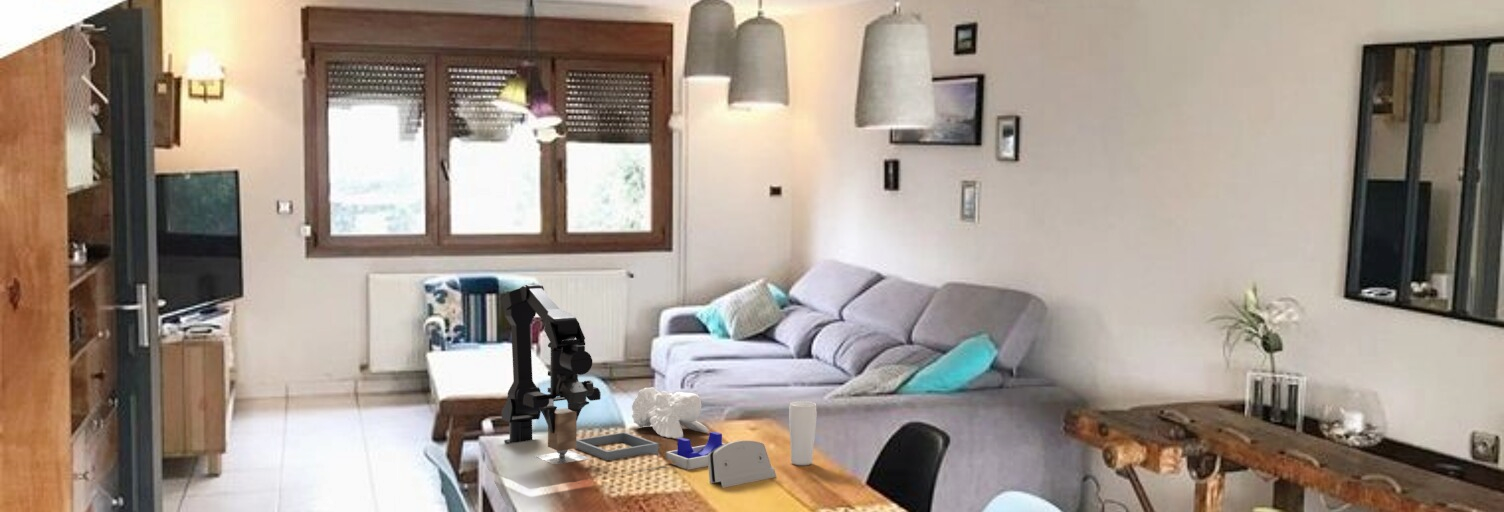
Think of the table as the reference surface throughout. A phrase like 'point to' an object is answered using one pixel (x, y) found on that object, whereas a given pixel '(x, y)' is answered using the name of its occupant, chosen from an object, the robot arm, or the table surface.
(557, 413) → the wooden block
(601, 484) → the table surface
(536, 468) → the table surface
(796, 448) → the drinking glass
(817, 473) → the table surface
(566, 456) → the stud plate
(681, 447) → the cable clip
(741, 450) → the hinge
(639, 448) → the tray
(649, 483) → the table surface
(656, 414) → the cherub figurine
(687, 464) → the clip organiser
